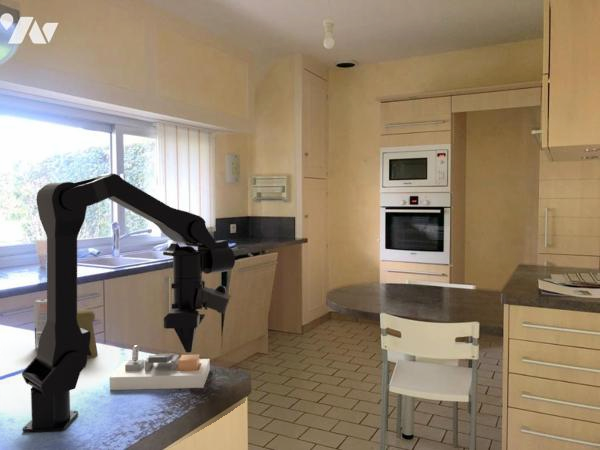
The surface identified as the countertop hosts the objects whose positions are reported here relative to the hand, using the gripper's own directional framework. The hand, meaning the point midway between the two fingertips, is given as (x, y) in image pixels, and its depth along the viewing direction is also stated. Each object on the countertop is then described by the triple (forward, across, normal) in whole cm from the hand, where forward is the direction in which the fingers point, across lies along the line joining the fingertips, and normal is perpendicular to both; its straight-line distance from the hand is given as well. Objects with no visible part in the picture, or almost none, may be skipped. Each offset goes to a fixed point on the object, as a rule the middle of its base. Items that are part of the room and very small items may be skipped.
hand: (188, 352), depth 102 cm
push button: (+4, 0, 0) cm, 4 cm away
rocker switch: (+1, 0, +6) cm, 6 cm away
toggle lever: (+2, 0, +11) cm, 11 cm away
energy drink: (+6, +25, +39) cm, 47 cm away
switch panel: (+6, 0, +5) cm, 8 cm away
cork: (+6, +17, +27) cm, 33 cm away
